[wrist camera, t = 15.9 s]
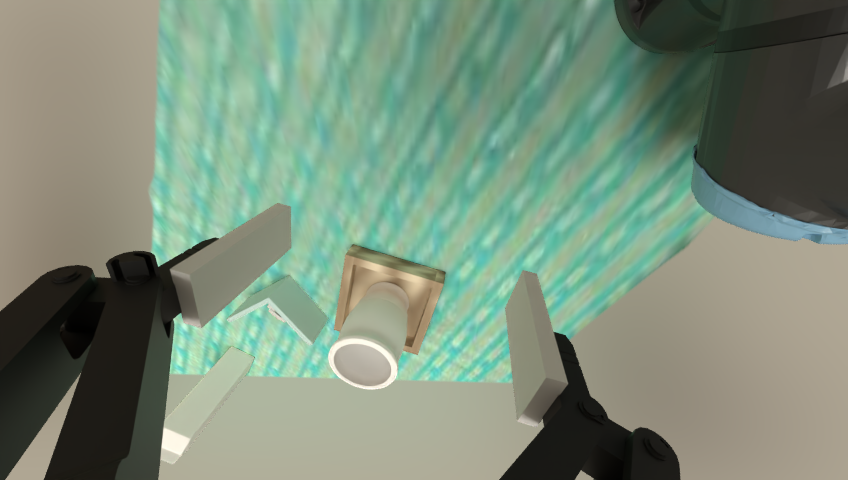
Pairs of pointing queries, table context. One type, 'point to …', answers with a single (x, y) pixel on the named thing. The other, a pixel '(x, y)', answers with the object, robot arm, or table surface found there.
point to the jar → (372, 338)
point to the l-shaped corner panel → (287, 308)
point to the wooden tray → (411, 277)
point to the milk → (203, 403)
